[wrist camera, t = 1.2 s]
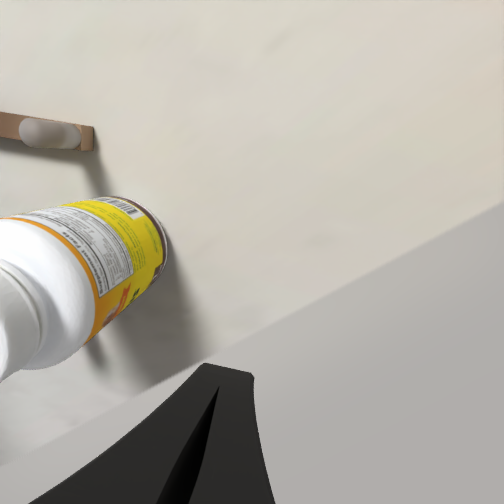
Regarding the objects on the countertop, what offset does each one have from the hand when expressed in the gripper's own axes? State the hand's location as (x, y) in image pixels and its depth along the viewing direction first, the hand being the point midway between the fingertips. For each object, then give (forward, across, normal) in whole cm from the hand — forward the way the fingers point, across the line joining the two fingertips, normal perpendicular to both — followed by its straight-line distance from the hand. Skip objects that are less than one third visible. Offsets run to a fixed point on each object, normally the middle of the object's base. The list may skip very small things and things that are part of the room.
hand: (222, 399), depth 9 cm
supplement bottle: (+10, +8, 0) cm, 13 cm away
